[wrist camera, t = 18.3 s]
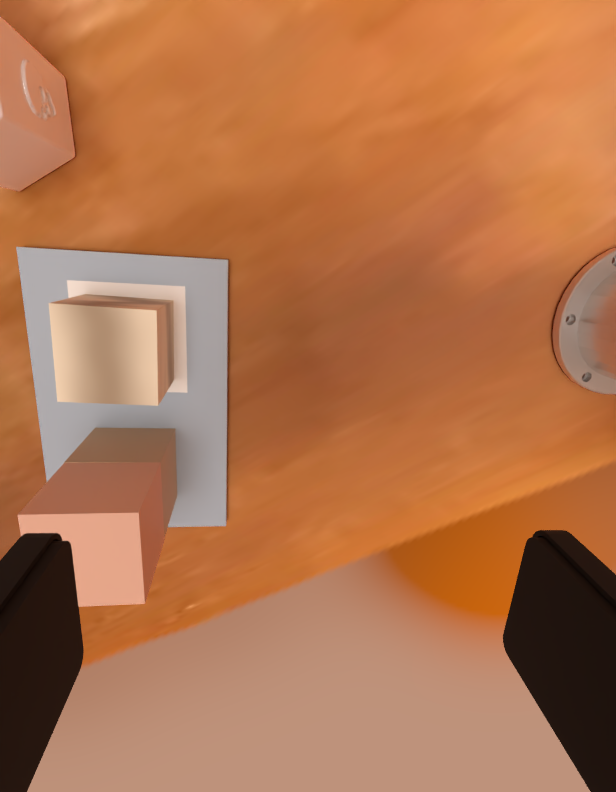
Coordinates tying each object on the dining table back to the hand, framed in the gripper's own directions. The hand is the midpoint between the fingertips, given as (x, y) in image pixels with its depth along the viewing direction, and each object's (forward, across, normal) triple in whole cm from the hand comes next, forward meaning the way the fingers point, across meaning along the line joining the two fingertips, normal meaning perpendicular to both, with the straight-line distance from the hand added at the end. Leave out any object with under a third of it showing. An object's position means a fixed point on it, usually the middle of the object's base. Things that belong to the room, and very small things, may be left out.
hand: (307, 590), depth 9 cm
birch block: (+26, +10, 0) cm, 28 cm away
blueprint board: (+27, +11, +5) cm, 29 cm away
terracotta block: (+20, +10, +10) cm, 25 cm away
